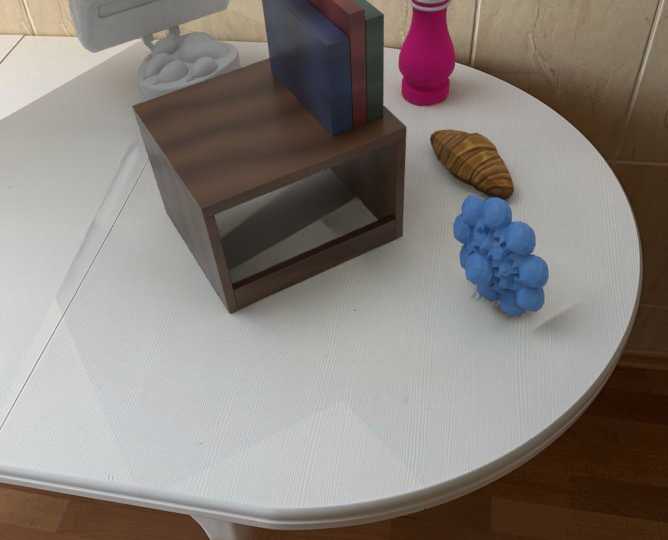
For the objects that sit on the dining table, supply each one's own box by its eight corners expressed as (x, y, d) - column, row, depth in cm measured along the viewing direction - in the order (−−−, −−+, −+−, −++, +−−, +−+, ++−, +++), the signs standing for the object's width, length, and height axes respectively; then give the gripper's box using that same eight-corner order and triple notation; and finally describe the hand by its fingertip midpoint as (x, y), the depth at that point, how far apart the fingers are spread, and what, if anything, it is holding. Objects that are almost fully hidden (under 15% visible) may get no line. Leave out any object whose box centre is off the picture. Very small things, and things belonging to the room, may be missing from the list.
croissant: (410, 155, 86) (411, 120, 82) (453, 134, 88) (457, 98, 84) (485, 215, 79) (490, 180, 75) (530, 191, 81) (537, 155, 77)
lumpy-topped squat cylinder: (257, 102, 94) (247, 40, 87) (185, 151, 88) (168, 89, 81) (204, 76, 98) (191, 15, 91) (132, 121, 93) (112, 60, 86)
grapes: (420, 285, 73) (426, 196, 63) (467, 254, 75) (480, 164, 66) (503, 354, 67) (523, 267, 57) (551, 319, 69) (579, 229, 60)
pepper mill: (386, 92, 94) (387, -69, 78) (424, 70, 96) (433, -90, 80) (425, 115, 90) (435, -48, 74) (463, 91, 93) (481, -72, 77)
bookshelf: (166, 212, 82) (96, -5, 62) (324, 150, 87) (307, -69, 67) (229, 314, 72) (171, 95, 52) (402, 236, 77) (411, 11, 57)
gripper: (206, -80, 89) (226, 25, 100) (49, -34, 84) (88, 72, 95) (227, -62, 86) (244, 45, 97) (64, -13, 80) (103, 94, 91)
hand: (166, 59), depth 96 cm, fingers closed
